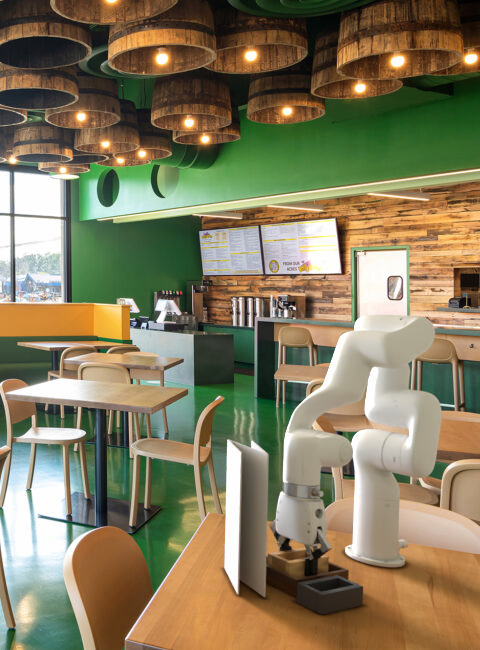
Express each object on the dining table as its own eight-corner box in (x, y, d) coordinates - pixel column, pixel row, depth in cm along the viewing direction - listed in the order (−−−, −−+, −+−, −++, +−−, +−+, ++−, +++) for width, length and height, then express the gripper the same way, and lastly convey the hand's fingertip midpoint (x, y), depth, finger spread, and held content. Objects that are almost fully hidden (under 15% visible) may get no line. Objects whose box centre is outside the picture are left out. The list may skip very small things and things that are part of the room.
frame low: (336, 593, 142) (336, 574, 142) (362, 605, 137) (363, 586, 137) (296, 602, 138) (296, 582, 138) (321, 614, 132) (322, 594, 132)
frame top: (305, 564, 154) (305, 547, 154) (328, 574, 149) (328, 556, 149) (267, 570, 149) (267, 553, 149) (289, 581, 144) (290, 563, 144)
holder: (299, 564, 158) (299, 549, 158) (348, 586, 146) (348, 569, 146) (248, 574, 152) (249, 558, 152) (296, 597, 140) (296, 580, 140)
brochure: (265, 597, 139) (268, 454, 139) (237, 594, 140) (241, 453, 140) (249, 570, 153) (252, 440, 152) (224, 568, 154) (227, 439, 154)
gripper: (347, 499, 142) (344, 583, 142) (281, 478, 158) (278, 554, 158) (323, 502, 139) (320, 587, 139) (257, 481, 155) (254, 557, 155)
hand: (297, 569), depth 149 cm, fingers closed on frame top, 6 cm apart
